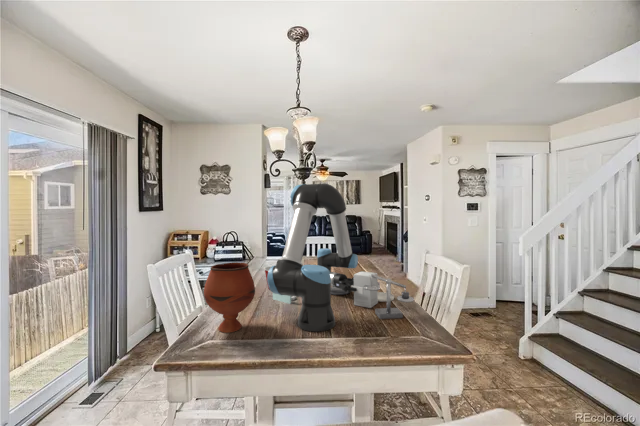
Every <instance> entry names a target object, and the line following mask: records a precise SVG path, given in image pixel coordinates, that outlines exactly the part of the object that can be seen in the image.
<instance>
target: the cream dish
mask: <svg viewBox="0 0 640 426" xmlns="http://www.w3.org/2000/svg"><path fill="white" fill-rule="evenodd" d="M394 300H395V295H394V294H392V293H391V302H392V301H394ZM379 302H381V303H382V302H384V303H387V302H386V292H385V291H382V292H381V291H378V303H379Z"/></svg>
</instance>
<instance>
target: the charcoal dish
mask: <svg viewBox="0 0 640 426" xmlns="http://www.w3.org/2000/svg"><path fill="white" fill-rule="evenodd" d="M348 294H349V293H348V291H347V292H345V291H343V290H342V289H340V288H336V287H334V288H333V287H332V286H331V295H335V296H343V295H348Z"/></svg>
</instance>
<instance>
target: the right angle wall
mask: <svg viewBox="0 0 640 426" xmlns="http://www.w3.org/2000/svg"><path fill="white" fill-rule="evenodd" d="M296 299H297V297H296V296H288V295H280V294H275V293H273V292H272V300H274V301H278V302H281V303H285V304H288V305H289V304H292V301H296Z"/></svg>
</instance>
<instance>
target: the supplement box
mask: <svg viewBox="0 0 640 426" xmlns="http://www.w3.org/2000/svg"><path fill="white" fill-rule="evenodd" d="M372 274H373V275H376V276H378V273H377V272H371V271H370V272H369V271H361V270H360V271H359V272H356V273H354V274H353V277H354V286H357V287H362V288H363V286H364V285H370V284H371V275H372ZM378 282H379V281H378V279H376V278H373V277H372V285H378ZM378 292H379V290H377V291H369V290H365V289H364V288H363V294H360V293H356V292H353V305H354V306H358V307H363V308H367V309H368V308H369V309H372V308H373V307H374V306H376V305H377V304H379V301H378Z"/></svg>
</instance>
